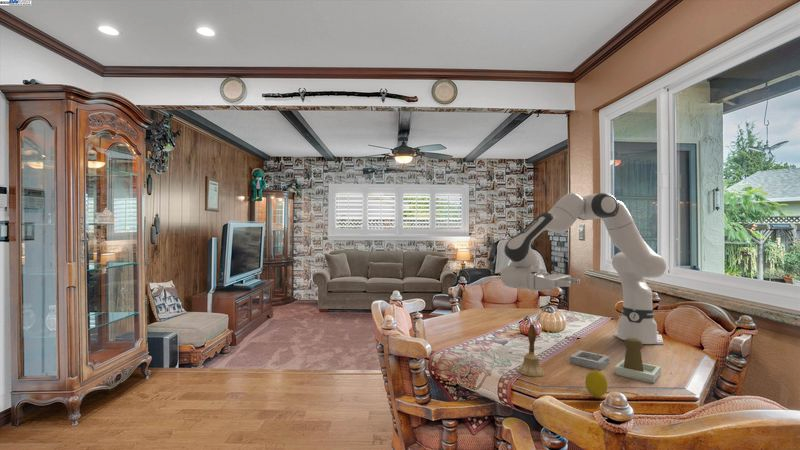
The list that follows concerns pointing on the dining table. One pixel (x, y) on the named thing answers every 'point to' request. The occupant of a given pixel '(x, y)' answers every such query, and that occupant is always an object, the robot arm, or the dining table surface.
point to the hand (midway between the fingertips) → (574, 283)
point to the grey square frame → (590, 360)
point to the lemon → (596, 383)
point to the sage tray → (639, 372)
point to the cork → (633, 354)
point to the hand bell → (531, 357)
